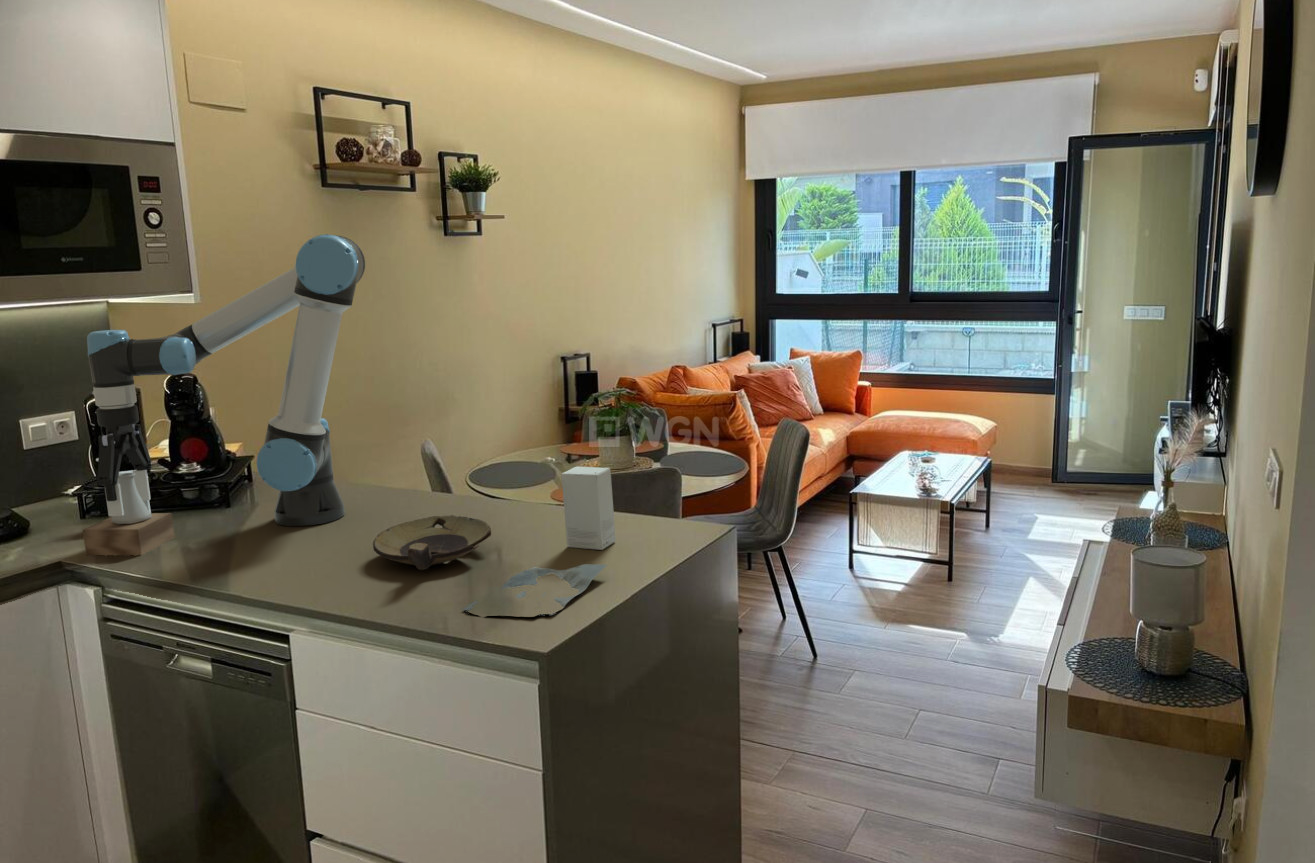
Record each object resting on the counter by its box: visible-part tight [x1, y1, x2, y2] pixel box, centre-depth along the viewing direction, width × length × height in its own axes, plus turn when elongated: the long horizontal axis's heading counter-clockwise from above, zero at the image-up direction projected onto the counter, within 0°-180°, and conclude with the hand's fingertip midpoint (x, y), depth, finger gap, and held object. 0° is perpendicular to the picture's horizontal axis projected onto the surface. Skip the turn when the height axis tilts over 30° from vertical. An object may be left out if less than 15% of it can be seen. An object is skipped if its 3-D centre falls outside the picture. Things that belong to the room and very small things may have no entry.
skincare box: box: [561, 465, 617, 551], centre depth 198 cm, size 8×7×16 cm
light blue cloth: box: [462, 563, 608, 616], centre depth 172 cm, size 24×16×2 cm, turn 157°
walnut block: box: [82, 512, 176, 557], centre depth 208 cm, size 12×12×6 cm
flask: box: [111, 473, 152, 524], centre depth 207 cm, size 7×7×10 cm
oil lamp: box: [372, 514, 492, 571], centre depth 191 cm, size 22×30×8 cm
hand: (130, 507), depth 207 cm, fingers open, 12 cm apart
